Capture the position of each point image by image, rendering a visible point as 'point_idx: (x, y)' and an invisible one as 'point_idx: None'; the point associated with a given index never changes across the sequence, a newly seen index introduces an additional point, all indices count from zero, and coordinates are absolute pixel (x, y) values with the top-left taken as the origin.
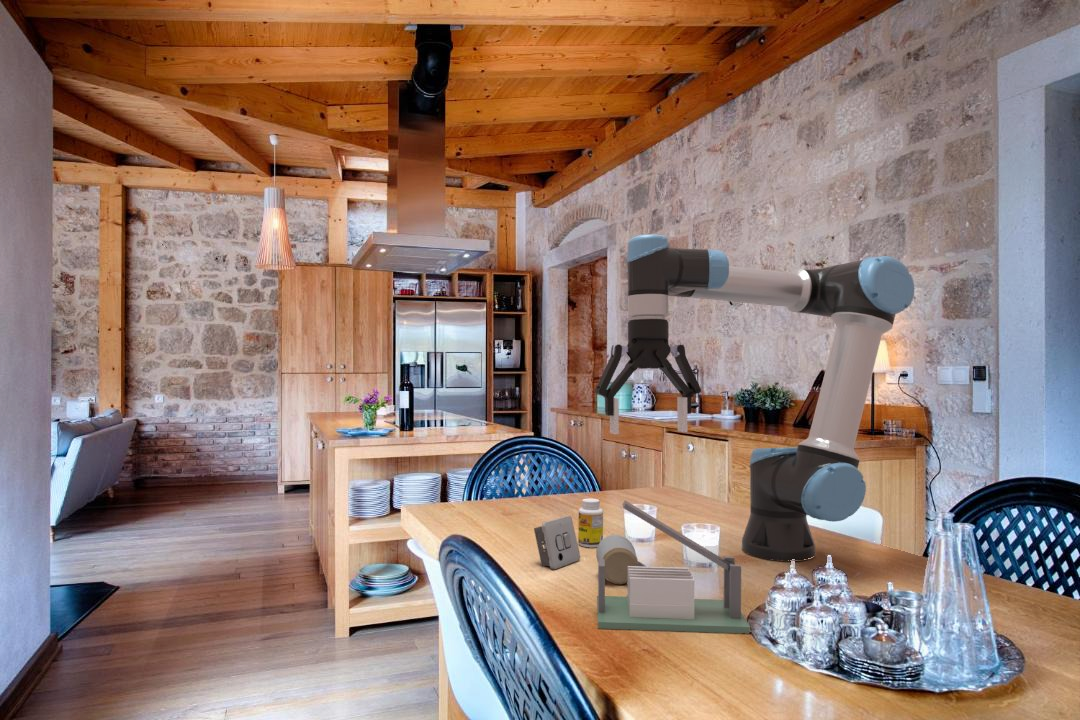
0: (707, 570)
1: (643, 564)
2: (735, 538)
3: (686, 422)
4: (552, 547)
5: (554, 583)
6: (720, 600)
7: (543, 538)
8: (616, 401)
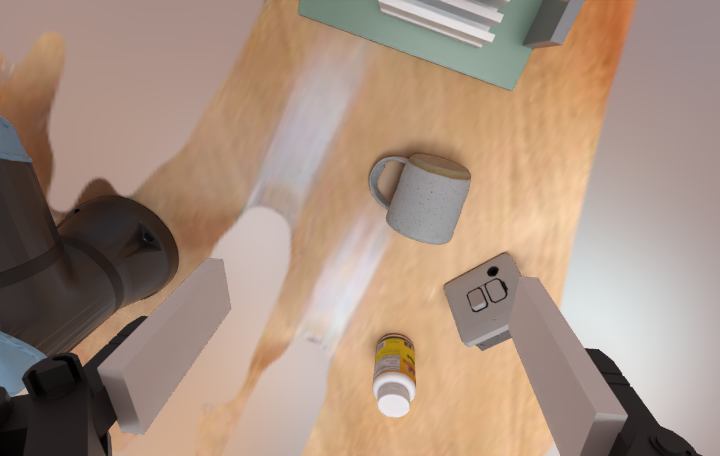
0: (268, 193)
1: (377, 199)
2: None
3: (189, 279)
4: (514, 277)
5: (534, 193)
6: (320, 15)
7: None
8: (602, 397)
